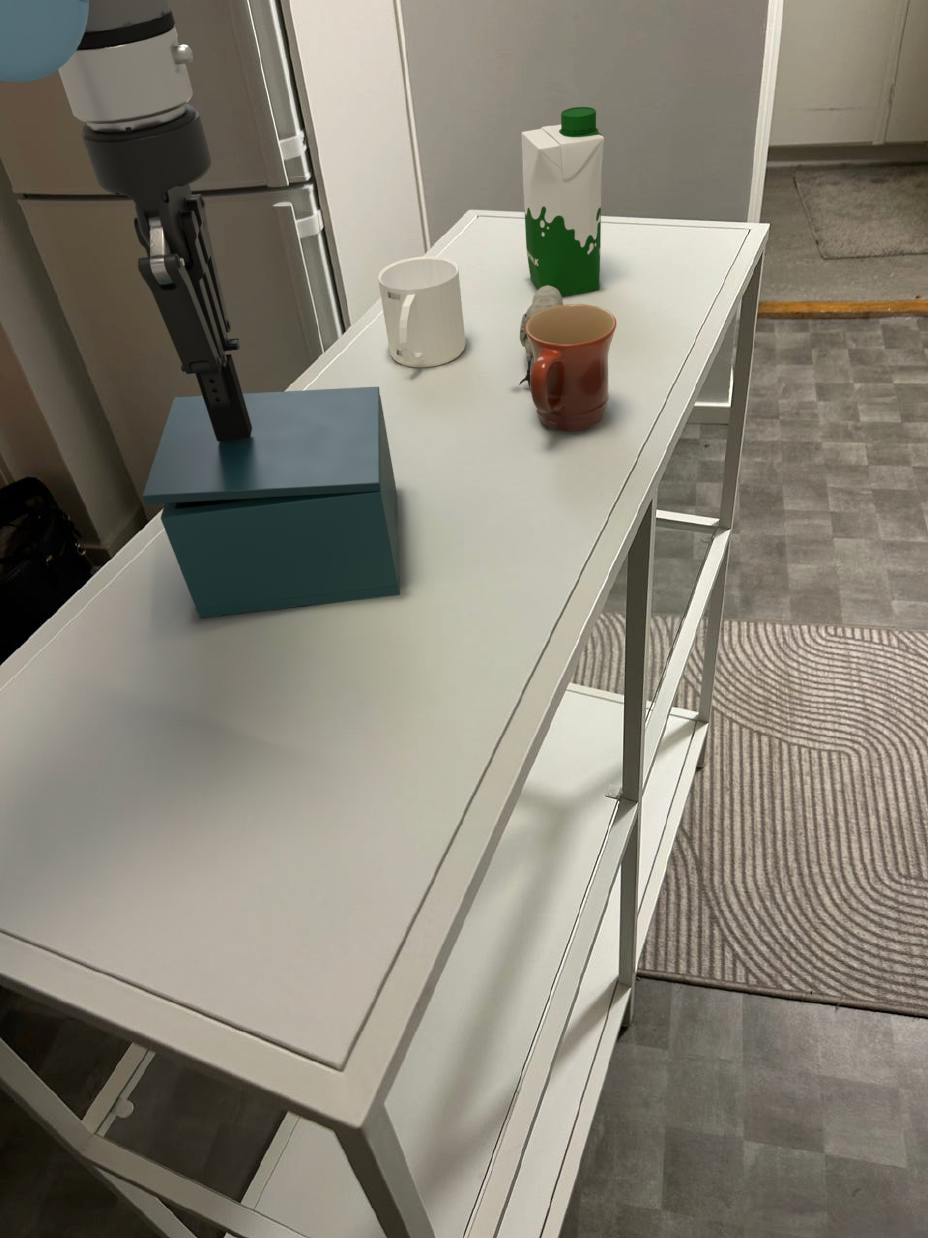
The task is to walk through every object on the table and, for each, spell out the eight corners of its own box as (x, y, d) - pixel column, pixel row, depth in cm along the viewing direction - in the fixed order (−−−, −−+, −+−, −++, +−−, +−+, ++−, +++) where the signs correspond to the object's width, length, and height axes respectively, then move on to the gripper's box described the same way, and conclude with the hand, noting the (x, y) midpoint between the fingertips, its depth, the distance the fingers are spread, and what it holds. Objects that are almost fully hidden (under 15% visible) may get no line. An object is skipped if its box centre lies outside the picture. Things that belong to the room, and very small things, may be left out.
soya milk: (608, 291, 117) (611, 117, 103) (540, 304, 116) (533, 130, 102) (586, 265, 123) (585, 99, 110) (520, 278, 122) (512, 111, 109)
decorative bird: (572, 324, 111) (571, 263, 106) (567, 392, 99) (565, 327, 94) (527, 326, 112) (524, 265, 107) (516, 393, 100) (512, 329, 95)
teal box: (199, 618, 78) (160, 517, 71) (221, 513, 89) (189, 417, 82) (399, 595, 77) (380, 491, 70) (396, 492, 89) (380, 394, 81)
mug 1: (412, 328, 114) (401, 253, 108) (478, 337, 111) (471, 259, 105) (364, 374, 107) (350, 296, 100) (433, 385, 103) (423, 305, 97)
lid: (144, 504, 70) (141, 496, 69) (175, 405, 81) (173, 396, 80) (380, 491, 70) (379, 482, 70) (379, 394, 81) (379, 385, 81)
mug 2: (552, 389, 100) (549, 298, 93) (627, 404, 96) (630, 310, 89) (499, 446, 93) (492, 352, 86) (579, 464, 89) (578, 367, 82)
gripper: (180, 135, 54) (274, 474, 70) (209, 80, 63) (286, 389, 79) (53, 151, 54) (176, 485, 70) (101, 94, 64) (200, 399, 80)
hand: (234, 434), depth 75 cm, fingers closed
